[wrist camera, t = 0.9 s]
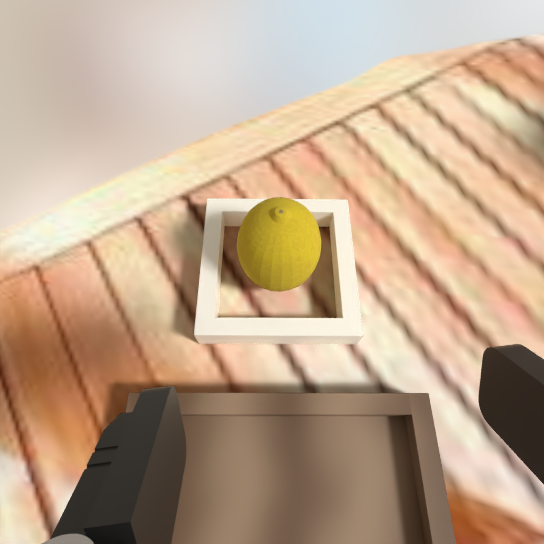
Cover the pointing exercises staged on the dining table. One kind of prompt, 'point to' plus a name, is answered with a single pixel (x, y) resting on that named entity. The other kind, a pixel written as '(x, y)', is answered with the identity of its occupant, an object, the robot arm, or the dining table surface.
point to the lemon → (279, 244)
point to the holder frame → (278, 329)
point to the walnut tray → (310, 469)
